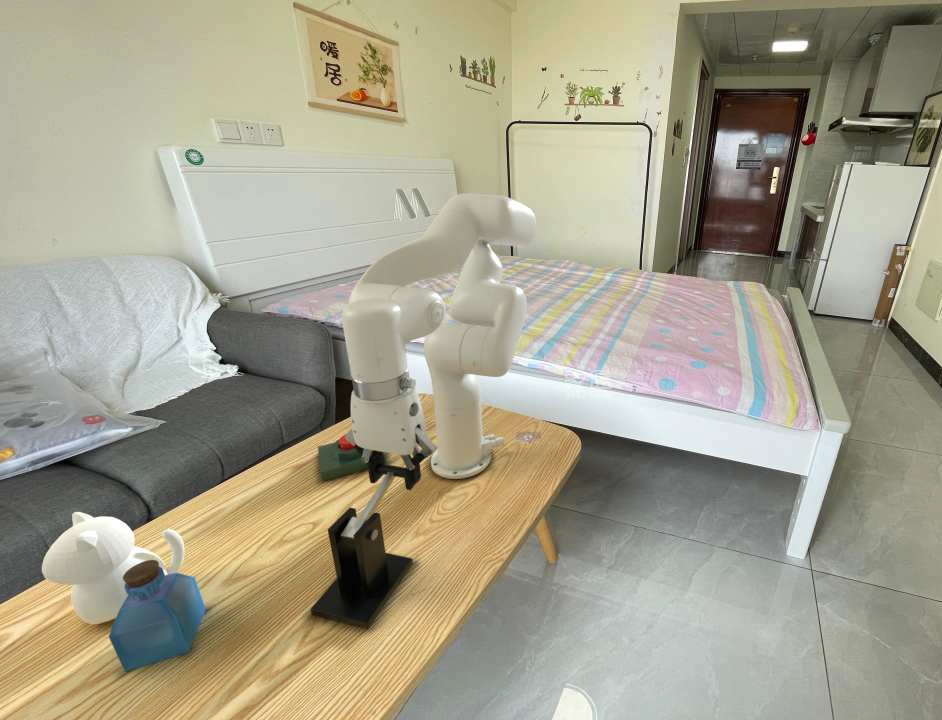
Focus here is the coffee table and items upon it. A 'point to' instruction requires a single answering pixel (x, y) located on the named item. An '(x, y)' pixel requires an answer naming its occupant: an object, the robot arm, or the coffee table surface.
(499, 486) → the coffee table surface
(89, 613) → the cat figurine
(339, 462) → the control box
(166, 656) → the perfume bottle
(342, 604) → the bracket
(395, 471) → the lever
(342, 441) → the button
